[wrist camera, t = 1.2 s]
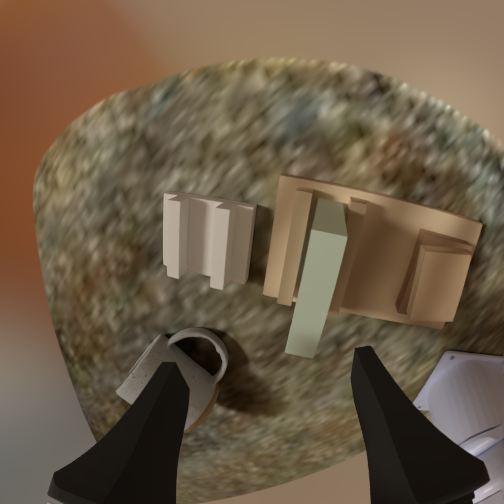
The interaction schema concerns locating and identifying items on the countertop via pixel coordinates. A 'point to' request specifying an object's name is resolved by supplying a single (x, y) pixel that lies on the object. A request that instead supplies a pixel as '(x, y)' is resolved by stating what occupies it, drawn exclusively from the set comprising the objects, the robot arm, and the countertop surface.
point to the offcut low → (423, 239)
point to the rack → (356, 245)
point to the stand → (208, 237)
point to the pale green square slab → (318, 277)
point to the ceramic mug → (195, 376)
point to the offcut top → (438, 283)
